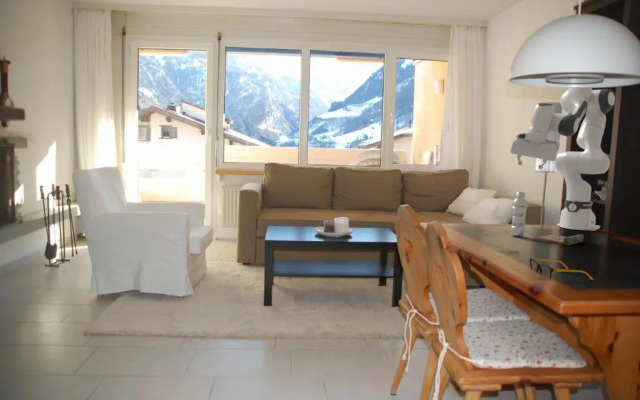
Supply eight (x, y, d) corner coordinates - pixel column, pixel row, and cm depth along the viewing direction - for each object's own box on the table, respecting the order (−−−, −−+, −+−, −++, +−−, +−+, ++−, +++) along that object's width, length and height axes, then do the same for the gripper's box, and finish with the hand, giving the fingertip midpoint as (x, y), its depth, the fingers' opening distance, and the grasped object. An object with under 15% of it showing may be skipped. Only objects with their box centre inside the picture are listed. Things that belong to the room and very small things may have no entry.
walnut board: (551, 236, 234) (551, 230, 234) (583, 241, 223) (583, 234, 223) (534, 240, 223) (535, 233, 223) (567, 245, 213) (567, 238, 213)
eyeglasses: (526, 269, 170) (527, 257, 169) (568, 270, 171) (569, 258, 170) (548, 280, 156) (549, 268, 155) (593, 281, 157) (595, 268, 156)
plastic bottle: (510, 237, 229) (513, 192, 227) (509, 234, 236) (512, 191, 233) (525, 238, 227) (529, 193, 225) (524, 235, 234) (527, 192, 232)
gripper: (562, 142, 234) (554, 171, 237) (517, 134, 246) (510, 162, 248) (559, 141, 229) (551, 171, 232) (513, 133, 241) (506, 162, 243)
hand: (529, 167), depth 240 cm, fingers open, 8 cm apart
